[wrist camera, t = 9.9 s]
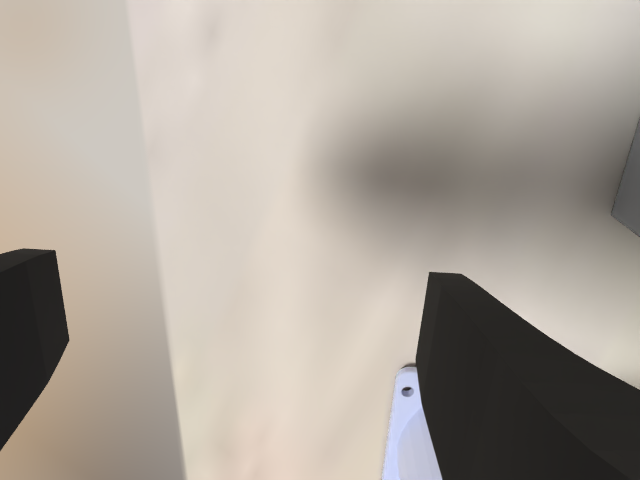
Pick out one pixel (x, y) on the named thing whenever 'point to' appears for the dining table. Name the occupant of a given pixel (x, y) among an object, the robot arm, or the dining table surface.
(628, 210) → the chassis
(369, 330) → the dining table surface
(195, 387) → the dining table surface
